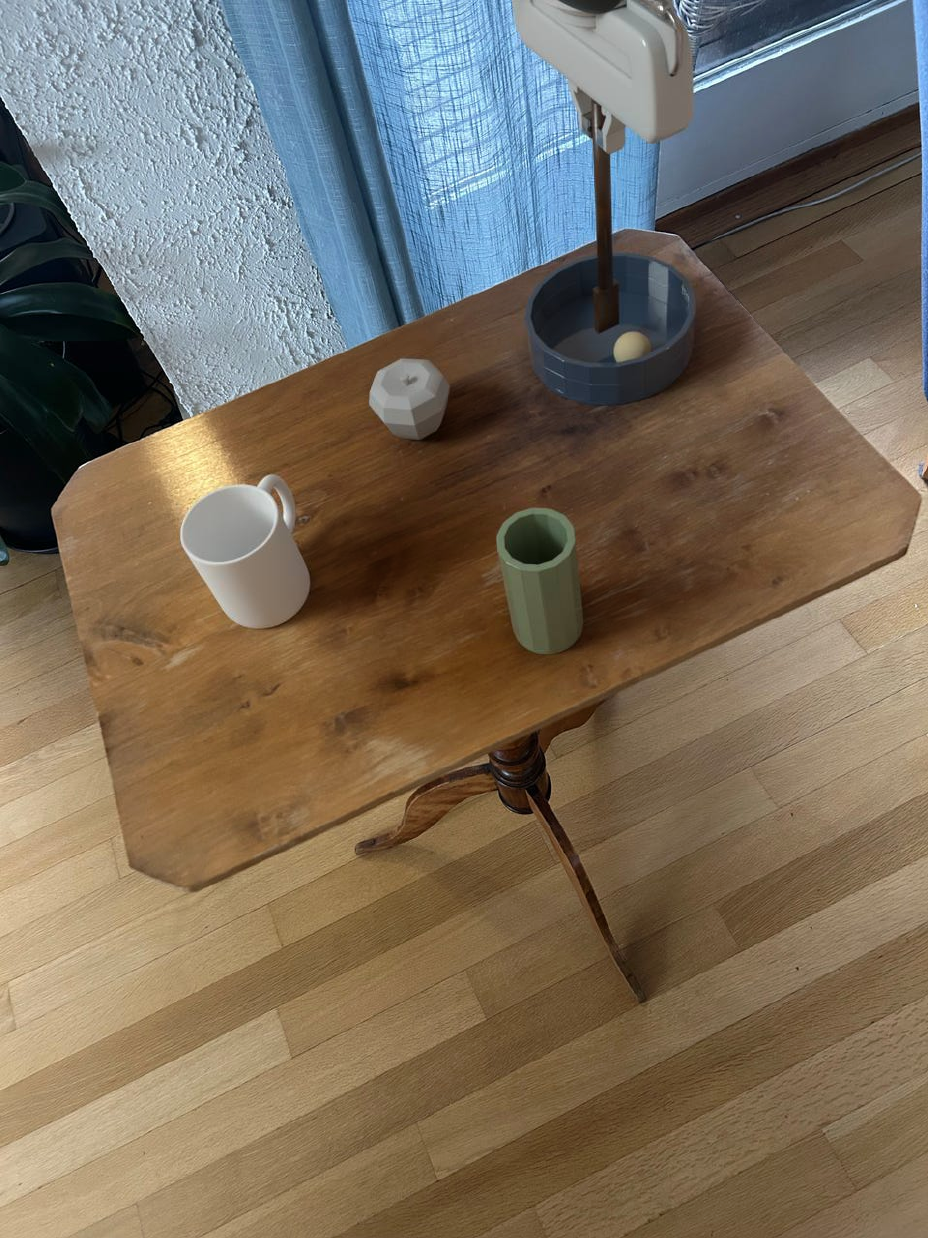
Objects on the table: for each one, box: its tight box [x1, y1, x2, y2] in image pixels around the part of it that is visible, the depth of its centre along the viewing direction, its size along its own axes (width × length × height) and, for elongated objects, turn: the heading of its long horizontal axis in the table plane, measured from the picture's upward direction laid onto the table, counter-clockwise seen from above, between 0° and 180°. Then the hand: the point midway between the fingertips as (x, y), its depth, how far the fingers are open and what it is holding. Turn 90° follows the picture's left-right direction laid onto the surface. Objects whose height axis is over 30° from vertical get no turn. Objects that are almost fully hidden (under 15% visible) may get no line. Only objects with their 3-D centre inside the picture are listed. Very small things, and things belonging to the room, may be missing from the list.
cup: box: [179, 473, 311, 630], centre depth 86 cm, size 8×12×10 cm
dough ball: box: [614, 331, 652, 362], centre depth 95 cm, size 4×4×4 cm
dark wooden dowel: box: [591, 98, 619, 334], centre depth 87 cm, size 2×1×24 cm, turn 118°
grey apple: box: [368, 357, 451, 441], centre depth 95 cm, size 8×8×7 cm
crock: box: [495, 507, 584, 655], centre depth 78 cm, size 6×6×12 cm
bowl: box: [524, 251, 697, 406], centre depth 97 cm, size 16×16×5 cm
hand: (601, 139), depth 81 cm, fingers closed on dark wooden dowel, 1 cm apart
